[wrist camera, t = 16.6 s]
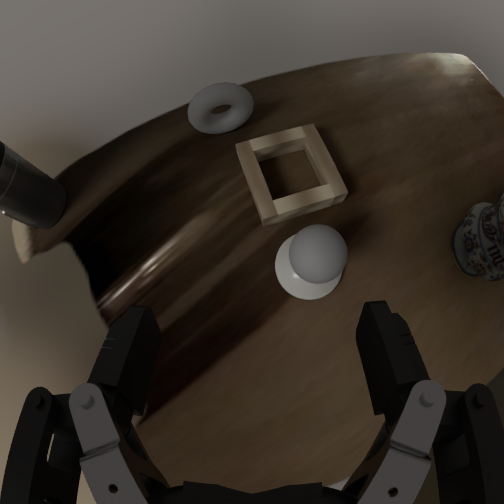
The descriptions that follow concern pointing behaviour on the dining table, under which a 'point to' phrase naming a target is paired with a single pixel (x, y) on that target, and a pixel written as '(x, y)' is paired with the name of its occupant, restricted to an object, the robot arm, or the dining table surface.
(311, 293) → the white round part
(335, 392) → the dining table surface
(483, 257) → the apothecary jar
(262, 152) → the pocket
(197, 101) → the donut
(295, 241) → the lightbulb
